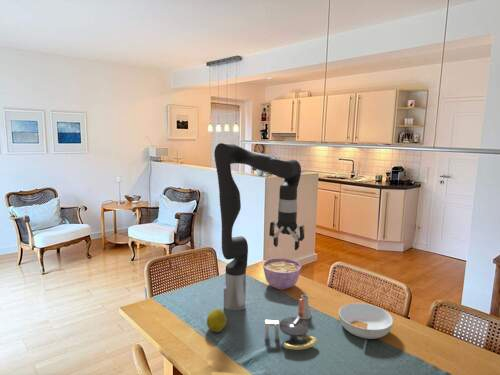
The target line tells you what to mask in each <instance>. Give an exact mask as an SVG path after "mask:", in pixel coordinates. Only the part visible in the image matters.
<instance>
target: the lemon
mask: <svg viewBox="0 0 500 375" xmlns="http://www.w3.org/2000/svg"><path fill="white" fill-rule="evenodd" d="M206 325H207V327H208V329H209V330H210V331H212V332H213V333H219V332H221V331H223V330H224V329H225V326H226V325H227V316H226V314H225V312H224V311H223V310H221V309H218V308H217V309H213V310H211V311H210V313H208V315H207V318H206Z"/></svg>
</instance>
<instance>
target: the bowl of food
mask: <svg viewBox="0 0 500 375" xmlns="http://www.w3.org/2000/svg"><path fill="white" fill-rule="evenodd" d="M262 268H263V272H264V277H265V280H266V282H267V283H268V284H269V285H270V286H272V287H273V288H275V289H277V290H288V289H289V288H292V287H294V286H296V284H297V282H298V280H299V277H300V273H301V270H302V265H301V263H300V262H298V261H297V260H293V259H290V258H286V257H285V258H283V257H282V258H281V257H278V258H276V257H275V258H270V259H267V260H265V261H264V262H263V263H262Z"/></svg>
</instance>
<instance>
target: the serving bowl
mask: <svg viewBox="0 0 500 375" xmlns="http://www.w3.org/2000/svg"><path fill="white" fill-rule="evenodd" d="M338 318H339V321H340V323H341V325H342V327H343V328H344V329H345V330H346V331H347V332H348V333H350V334H352V335H353V336H357V337H358V338H362V339H369V340H370V339H372V340H373V339H380V338H383V337H385V336H386V335H388V333H390V331H391V329H392V328H393V324H394V319H393V317H392V315H391V314H390V313H389V312H387V310H385V309H383V308H381V307H379V306H376V305H374V304H369V303H363V302H352V303H347V304H345V305H343V306H341V307H340V308H339V310H338ZM353 322H360V323H362V324H363V323H364V324H367V325H366V328H365V327H360V326H356V325H354V324H352V323H353Z"/></svg>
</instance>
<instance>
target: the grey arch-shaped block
mask: <svg viewBox="0 0 500 375" xmlns="http://www.w3.org/2000/svg"><path fill="white" fill-rule="evenodd" d="M264 322H265V323H264V340H266V341H267V340H268V341H269V335H270V334H269V330H270V329H269V328H270V327H274V341H279V334H280V333H279V331H280V322H279V320H277V319H276V320H274V319H265V320H264Z"/></svg>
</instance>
